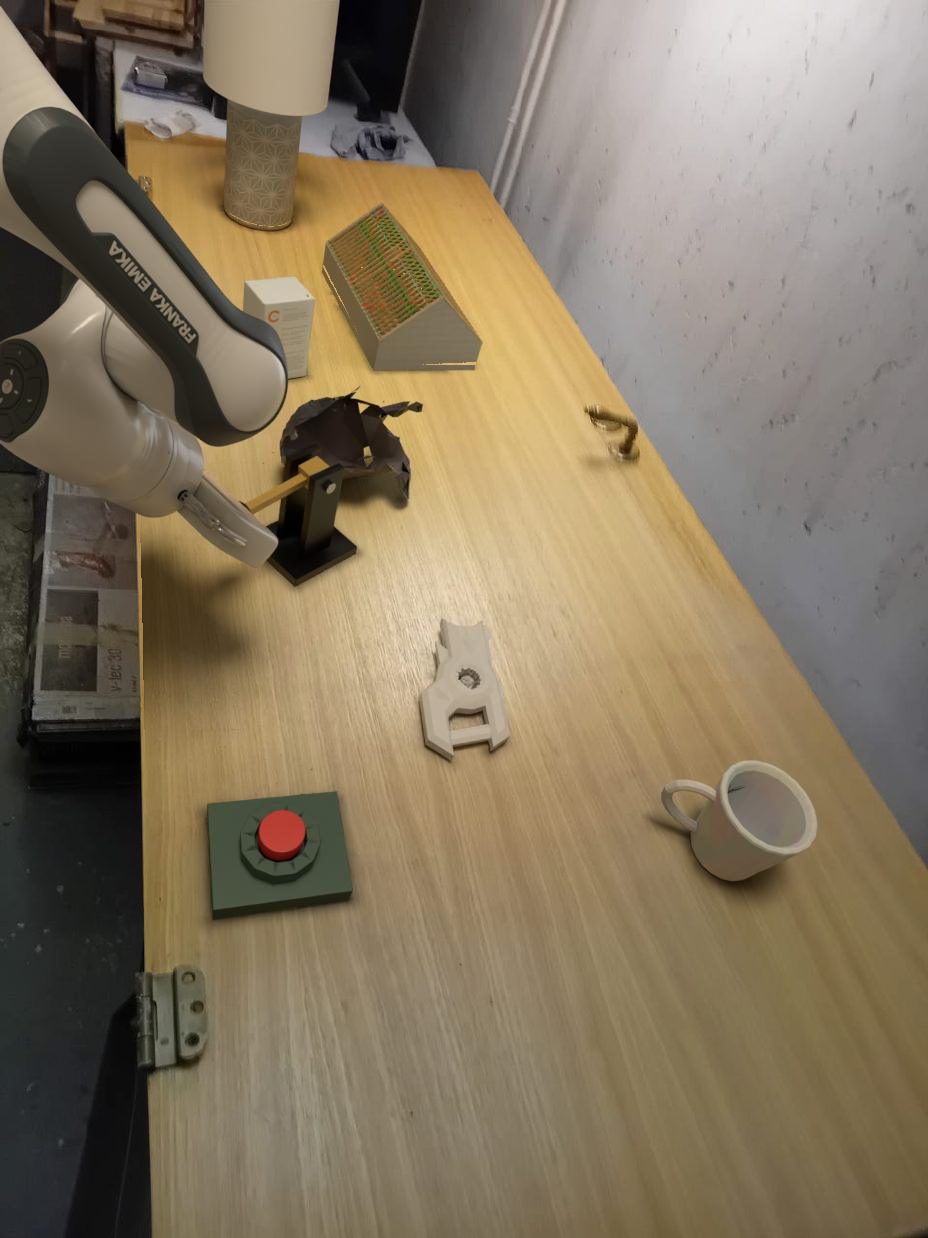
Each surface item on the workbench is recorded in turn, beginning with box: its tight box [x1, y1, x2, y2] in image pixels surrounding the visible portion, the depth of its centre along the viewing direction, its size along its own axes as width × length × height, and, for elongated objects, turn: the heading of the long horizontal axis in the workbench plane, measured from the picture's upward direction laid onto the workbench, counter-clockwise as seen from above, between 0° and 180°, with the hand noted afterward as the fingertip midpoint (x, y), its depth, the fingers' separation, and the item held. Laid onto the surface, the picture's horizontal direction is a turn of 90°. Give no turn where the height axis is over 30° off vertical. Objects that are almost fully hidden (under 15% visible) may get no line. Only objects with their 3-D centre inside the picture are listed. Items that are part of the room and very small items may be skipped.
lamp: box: [202, 0, 340, 232], centre depth 140 cm, size 21×21×42 cm
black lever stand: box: [265, 443, 358, 587], centre depth 97 cm, size 10×9×14 cm
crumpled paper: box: [262, 385, 424, 500], centre depth 106 cm, size 14×15×20 cm
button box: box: [206, 790, 354, 920], centre depth 74 cm, size 12×10×4 cm
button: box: [258, 810, 305, 861], centre depth 72 cm, size 4×4×2 cm
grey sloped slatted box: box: [321, 201, 484, 371], centre depth 138 cm, size 30×19×13 cm, turn 22°
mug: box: [660, 759, 819, 882], centre depth 85 cm, size 10×15×10 cm
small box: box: [242, 275, 316, 380], centre depth 120 cm, size 8×6×13 cm
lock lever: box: [238, 456, 329, 515], centre depth 90 cm, size 14×4×4 cm, turn 138°
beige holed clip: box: [418, 617, 511, 761], centre depth 92 cm, size 18×4×10 cm
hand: (233, 510), depth 85 cm, fingers closed
